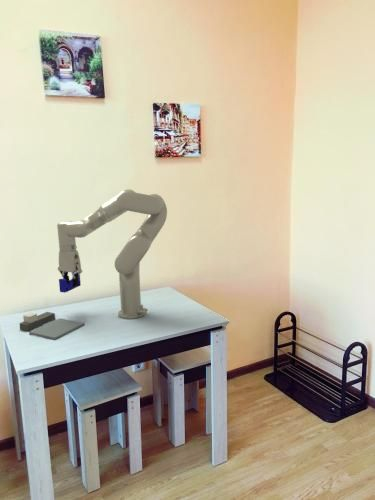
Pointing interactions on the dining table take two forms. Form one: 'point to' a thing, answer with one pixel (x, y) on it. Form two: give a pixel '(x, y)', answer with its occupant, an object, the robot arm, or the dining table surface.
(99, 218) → the robot arm
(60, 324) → the slate mat
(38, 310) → the dining table surface
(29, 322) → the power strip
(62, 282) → the blue curved block
